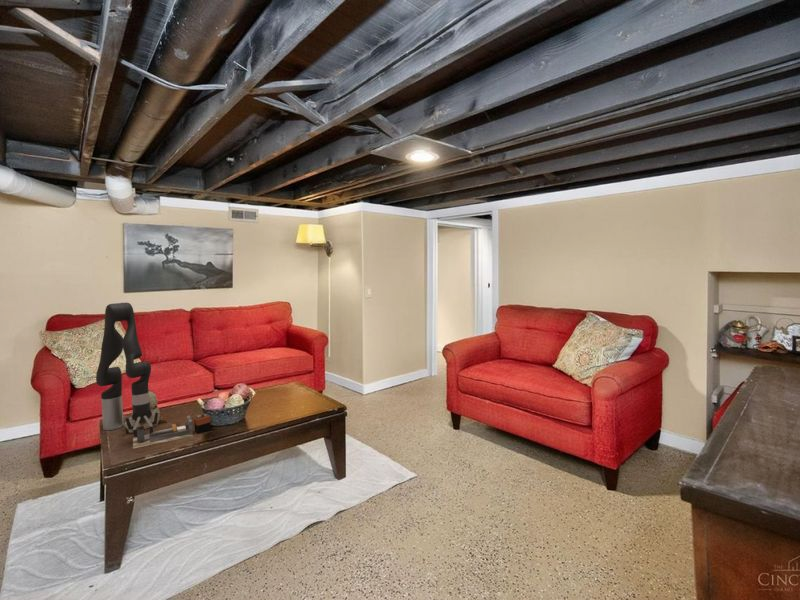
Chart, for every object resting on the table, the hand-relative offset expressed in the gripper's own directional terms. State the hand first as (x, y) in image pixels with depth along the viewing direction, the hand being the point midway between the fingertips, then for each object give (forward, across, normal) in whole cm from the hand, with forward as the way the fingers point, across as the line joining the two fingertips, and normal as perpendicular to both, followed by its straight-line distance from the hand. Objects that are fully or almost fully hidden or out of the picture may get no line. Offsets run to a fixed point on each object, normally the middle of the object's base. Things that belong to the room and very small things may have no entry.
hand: (143, 434), depth 201 cm
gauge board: (+5, -8, 0) cm, 10 cm away
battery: (+5, -26, +3) cm, 27 cm away
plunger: (+3, -6, 0) cm, 6 cm away
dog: (+4, -2, -24) cm, 24 cm away
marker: (+3, -17, 0) cm, 17 cm away
